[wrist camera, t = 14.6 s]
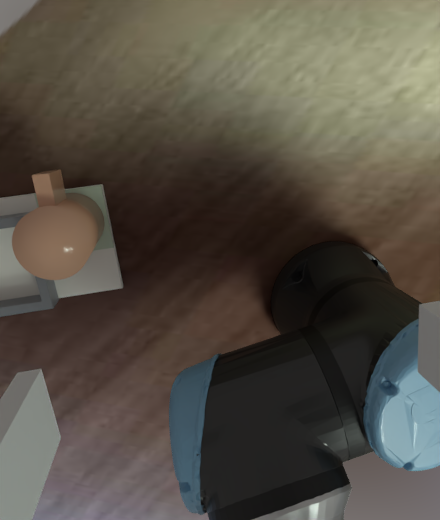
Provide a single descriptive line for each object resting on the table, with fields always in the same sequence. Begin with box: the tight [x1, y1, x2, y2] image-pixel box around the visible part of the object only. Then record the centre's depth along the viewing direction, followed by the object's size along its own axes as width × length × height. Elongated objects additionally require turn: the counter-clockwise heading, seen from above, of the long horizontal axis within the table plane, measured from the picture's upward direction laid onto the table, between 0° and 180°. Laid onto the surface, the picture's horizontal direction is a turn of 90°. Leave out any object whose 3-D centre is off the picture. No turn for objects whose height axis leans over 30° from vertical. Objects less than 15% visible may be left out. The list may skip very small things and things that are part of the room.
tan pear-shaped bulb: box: [12, 169, 105, 280], centre depth 40 cm, size 9×6×10 cm
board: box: [0, 184, 123, 301], centre depth 46 cm, size 12×18×1 cm, turn 97°
